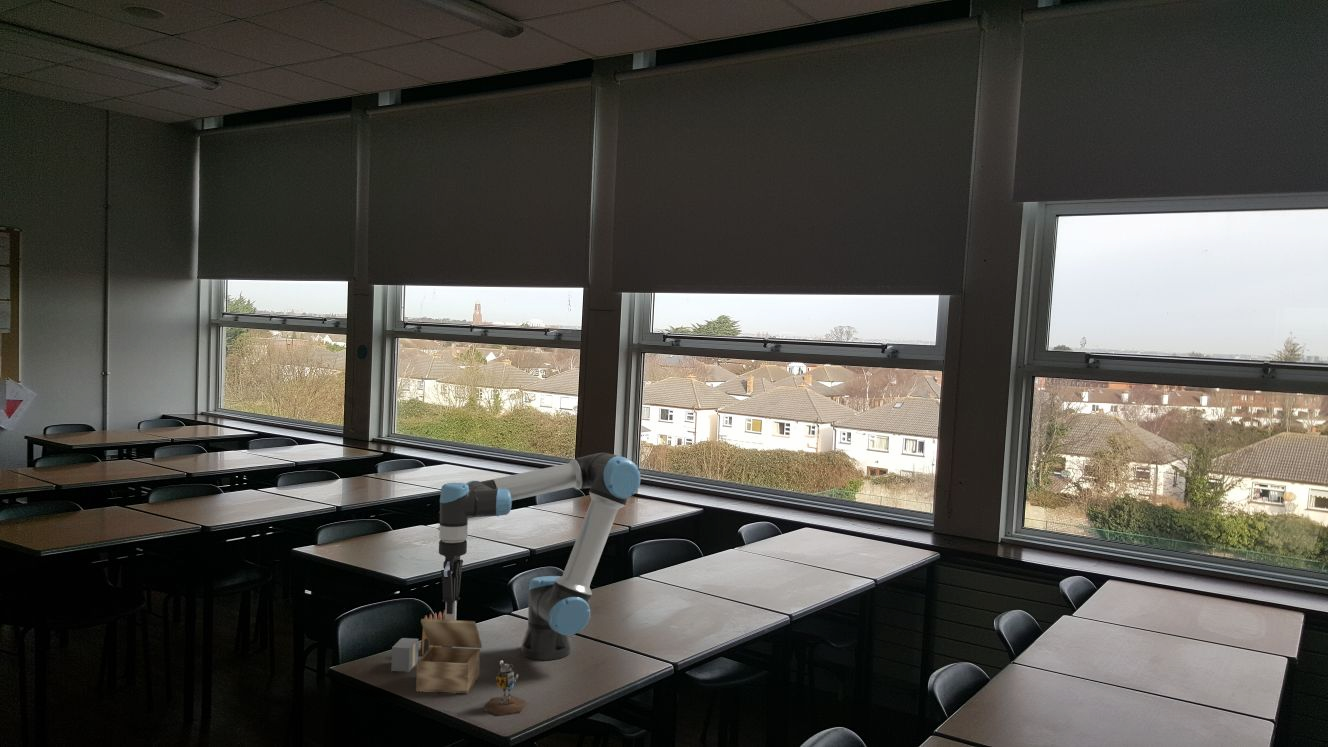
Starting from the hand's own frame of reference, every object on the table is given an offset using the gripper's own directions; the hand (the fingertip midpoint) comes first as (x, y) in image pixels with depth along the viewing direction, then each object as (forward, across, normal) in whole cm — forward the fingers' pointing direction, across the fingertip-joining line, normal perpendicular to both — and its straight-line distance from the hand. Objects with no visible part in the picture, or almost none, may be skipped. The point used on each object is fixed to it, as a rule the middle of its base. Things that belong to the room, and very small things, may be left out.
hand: (450, 624), depth 235 cm
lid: (+3, -1, 0) cm, 3 cm away
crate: (+16, +1, 0) cm, 16 cm away
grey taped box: (+17, -10, -16) cm, 25 cm away
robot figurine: (+17, +14, +19) cm, 29 cm away
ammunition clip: (+17, -24, -11) cm, 31 cm away
